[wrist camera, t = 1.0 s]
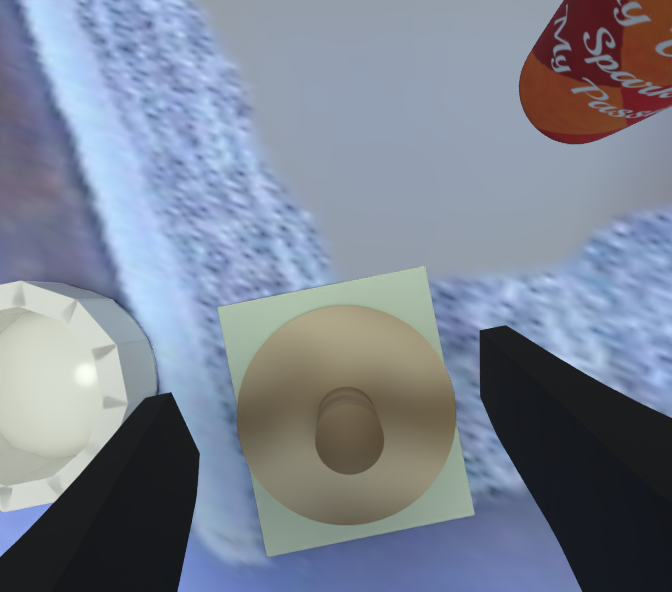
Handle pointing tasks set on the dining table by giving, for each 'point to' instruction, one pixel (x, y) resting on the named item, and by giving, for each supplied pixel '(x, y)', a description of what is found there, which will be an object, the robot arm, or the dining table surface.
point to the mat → (373, 292)
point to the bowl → (63, 384)
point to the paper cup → (599, 68)
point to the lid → (346, 415)
